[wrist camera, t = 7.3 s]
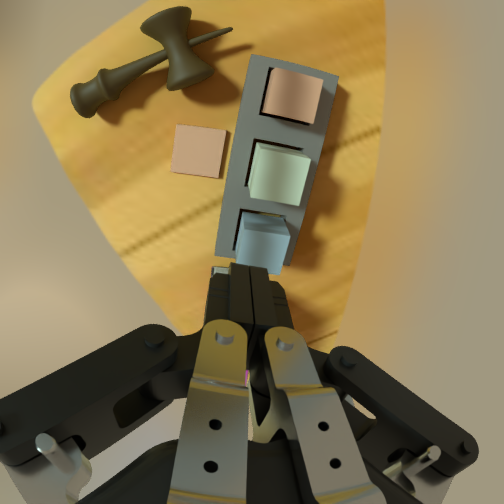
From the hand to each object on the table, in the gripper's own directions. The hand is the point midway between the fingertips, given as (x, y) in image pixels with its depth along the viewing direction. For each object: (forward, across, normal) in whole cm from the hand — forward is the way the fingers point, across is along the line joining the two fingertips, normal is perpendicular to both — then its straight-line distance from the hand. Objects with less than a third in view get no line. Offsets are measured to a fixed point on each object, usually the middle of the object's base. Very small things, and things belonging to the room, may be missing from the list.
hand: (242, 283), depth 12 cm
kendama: (+25, +13, -11) cm, 30 cm away
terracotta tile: (+25, +5, -1) cm, 26 cm away
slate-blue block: (+22, -4, +7) cm, 24 cm away
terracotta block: (+24, -4, -10) cm, 26 cm away
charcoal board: (+25, -4, -1) cm, 26 cm away
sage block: (+22, -4, -1) cm, 23 cm away
